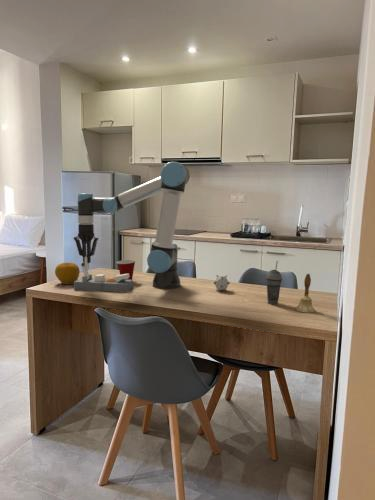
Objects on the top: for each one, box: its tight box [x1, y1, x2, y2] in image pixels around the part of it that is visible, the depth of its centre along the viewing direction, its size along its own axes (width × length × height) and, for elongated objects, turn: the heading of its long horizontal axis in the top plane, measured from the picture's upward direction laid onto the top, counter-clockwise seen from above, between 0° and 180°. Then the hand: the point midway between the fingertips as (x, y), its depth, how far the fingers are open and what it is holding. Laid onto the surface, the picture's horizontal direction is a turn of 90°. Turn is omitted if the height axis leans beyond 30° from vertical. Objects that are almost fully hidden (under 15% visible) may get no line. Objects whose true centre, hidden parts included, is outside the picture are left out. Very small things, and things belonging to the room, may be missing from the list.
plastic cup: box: [116, 259, 136, 280], centre depth 204 cm, size 11×11×12 cm
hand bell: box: [295, 273, 316, 314], centre depth 156 cm, size 8×8×16 cm
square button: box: [94, 273, 106, 282], centre depth 188 cm, size 4×4×4 cm
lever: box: [80, 262, 90, 280], centre depth 189 cm, size 3×5×9 cm, turn 173°
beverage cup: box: [265, 260, 283, 306], centre depth 165 cm, size 7×7×20 cm
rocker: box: [114, 273, 130, 281], centre depth 187 cm, size 6×4×2 cm, turn 83°
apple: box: [54, 262, 80, 285], centre depth 198 cm, size 13×13×11 cm
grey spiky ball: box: [213, 274, 231, 292], centre depth 187 cm, size 9×8×10 cm
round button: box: [106, 276, 115, 282], centre depth 188 cm, size 4×4×4 cm
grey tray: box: [73, 273, 133, 293], centre depth 188 cm, size 28×10×6 cm, turn 83°
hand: (87, 269), depth 188 cm, fingers closed
